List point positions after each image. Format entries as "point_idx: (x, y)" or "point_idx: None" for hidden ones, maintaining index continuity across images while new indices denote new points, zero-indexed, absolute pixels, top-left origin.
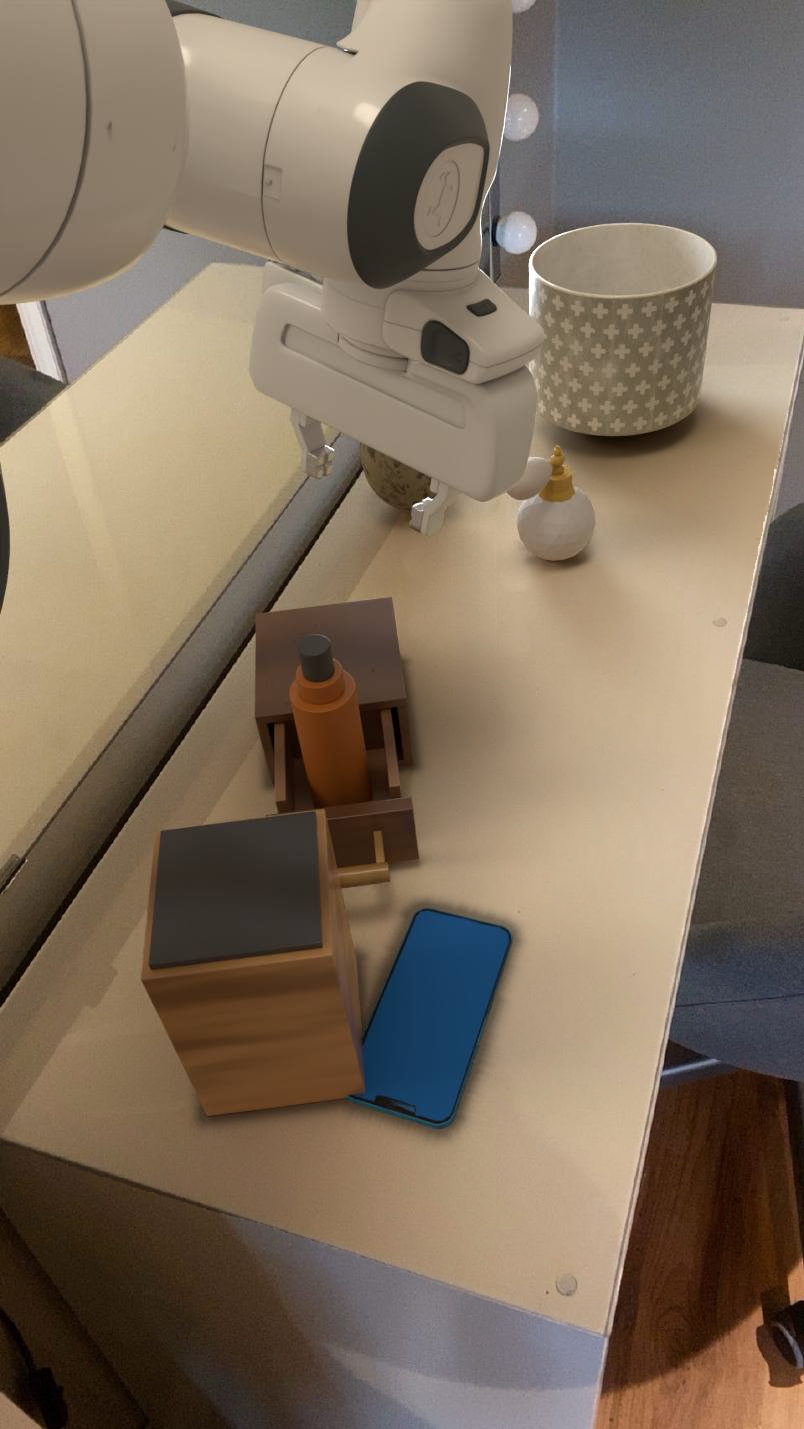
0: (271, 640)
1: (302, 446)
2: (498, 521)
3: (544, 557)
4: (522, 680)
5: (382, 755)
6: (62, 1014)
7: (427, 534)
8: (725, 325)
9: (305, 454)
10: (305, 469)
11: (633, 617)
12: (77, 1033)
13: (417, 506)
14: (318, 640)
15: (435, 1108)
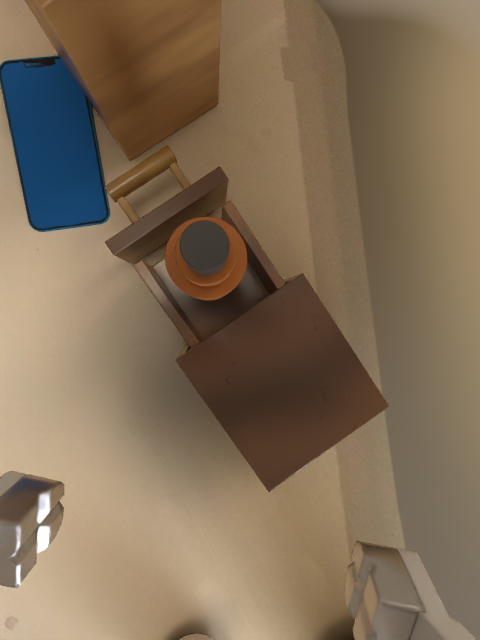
0: (350, 377)
1: (454, 629)
2: None
3: (193, 635)
4: (146, 476)
5: (202, 331)
6: (298, 33)
7: (5, 474)
8: None
9: (427, 602)
10: (402, 555)
11: (87, 594)
12: (278, 25)
13: (8, 534)
14: (203, 257)
15: (12, 71)
